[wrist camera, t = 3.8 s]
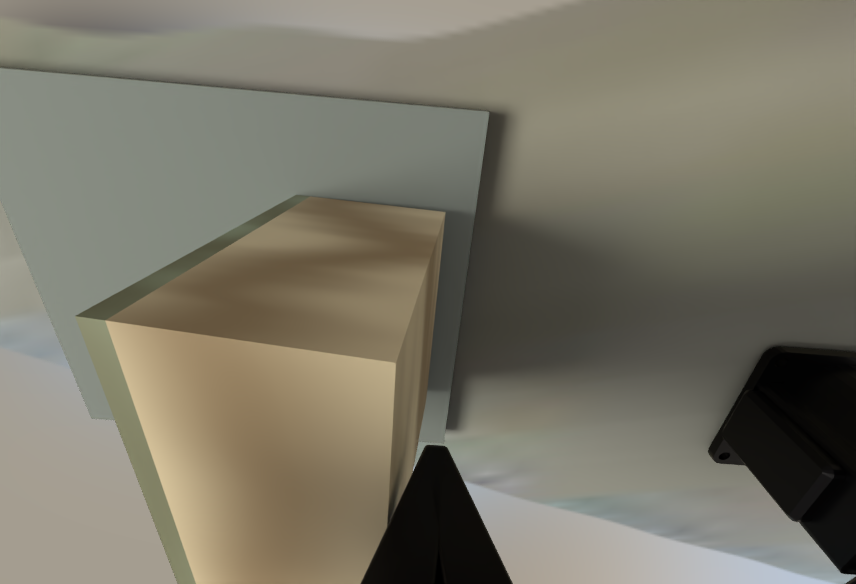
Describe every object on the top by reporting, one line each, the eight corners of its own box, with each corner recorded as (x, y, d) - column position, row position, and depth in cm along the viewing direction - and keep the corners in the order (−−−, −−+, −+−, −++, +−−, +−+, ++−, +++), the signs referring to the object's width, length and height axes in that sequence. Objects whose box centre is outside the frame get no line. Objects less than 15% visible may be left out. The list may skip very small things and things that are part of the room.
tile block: (445, 212, 13) (395, 362, 6) (426, 400, 16) (381, 635, 9) (295, 194, 13) (75, 316, 6) (309, 383, 17) (182, 594, 10)
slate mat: (486, 110, 13) (489, 112, 12) (443, 430, 19) (443, 443, 18) (-29, 64, 12) (-58, 63, 12) (104, 405, 19) (91, 418, 18)
